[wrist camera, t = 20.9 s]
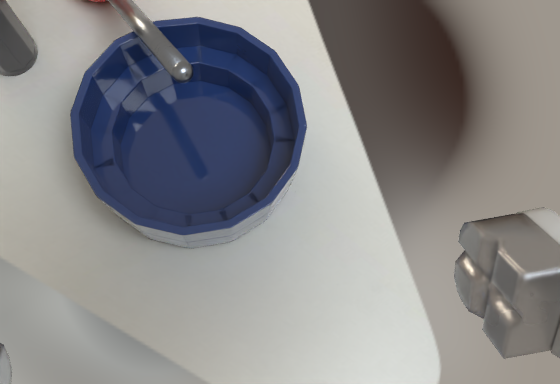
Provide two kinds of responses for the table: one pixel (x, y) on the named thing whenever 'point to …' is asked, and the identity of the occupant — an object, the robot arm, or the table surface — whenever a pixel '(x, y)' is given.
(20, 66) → the cup
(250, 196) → the bowl
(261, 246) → the table surface
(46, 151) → the table surface
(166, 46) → the baster
